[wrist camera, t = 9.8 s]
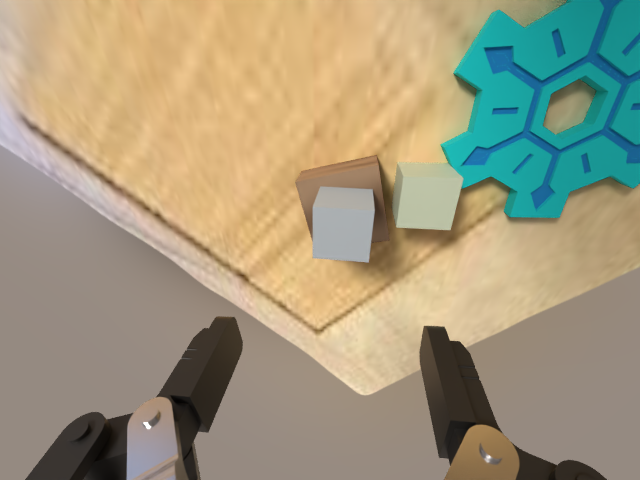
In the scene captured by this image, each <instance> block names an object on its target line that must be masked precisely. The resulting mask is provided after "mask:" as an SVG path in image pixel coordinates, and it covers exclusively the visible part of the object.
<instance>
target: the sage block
mask: <svg viewBox="0 0 640 480" xmlns="http://www.w3.org/2000/svg"><path fill="white" fill-rule="evenodd" d="M463 179H464V178H463V177H462V176H461V175H460V174H459V173H458V172H457V171H456V170H455V169H454V168H453V167H452V166H451V165H450V164H449V163H420V162H397V168H396V176H395V183H394V191H393V199H392V207H391V208H392V212H393V216H394V220H395V224H396V228H417V229H437V230H451V226H452V222H453V218H454V214H455V210H456V206H457V203H458V199H459V195H460V191H461V187H462V183H463Z"/></svg>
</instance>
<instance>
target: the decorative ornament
mask: <svg viewBox="0 0 640 480" xmlns="http://www.w3.org/2000/svg"><path fill="white" fill-rule="evenodd" d="M453 74H455V75H456V76H458V77H459V78H461V79H462V80H464V81H465V82H467V83H468V84H470V85H471V86H473V87H474V88H476V89H477V92H476V96H475V100H474V105H473V109H472V113H471V118H470V122H469V127H468V131H466V132H464V133H462V134H460V135H458V136H456V137H455V138H453V139H451V140H449V141H447V142H445V143H443V144H441V147H442V149H443V152H444V154H445V156H446V158H447V161H448V163H449V164H450V165H451V166H452V167H453V168H454V169H455V170H456V171H457V172H458V173H459V174H460V175H461V176H462V177H463V178H464V179H463V183H462V187H461V188H462V189H463V188H465V187H468V186H470V185H472V184H474V183H477V182H479V181H481V180H484V179H486V178H488V177H493V178H495V179H497V180H498V181H500V182H502V183H503V184H505V185H507V186H509V187H510V188H511V189H510V192H509V195H508V199H507V202H506V205H505V209H504V212H505V213H506V214H507V215H508V216H509V217H541V218H559V217H560V215H561V212H562V210H563V207H564V205H565V203H566V200H567V198H568V195H569V193H570V192H571V191H574V190H576V189H579V188H581V187H584V186H586V185H589V184H592V183H594V182H597V181H599V180H602V179H604V178H607V177H611V178H613V179H614V180H616V181H618V182H619V183H621V184H623V185H626V186H628V187H631V188H633V189H634V188H635V187H636V186H637V185H638V184H640V0H567V1H566V3H565V4H563V5H562V6H560V7H558V8H557V9H555V10H553V11H552V12H550V13H548V14H547V15H545V16H543V17H541V18H540V19H538V20H536V21H535V22H533V23H531V24H530V25H528V26H526V27H525V28H524V27H522V26H521V25H520V24H518V23H517V22H515V21H514V20H513V19H511V18H510V17H509V16H507V15H506V14H505V13H503V12H502V11H501V10H497V11H495V12H493V13H492V14H491V15H490V17H489V18H488V20H487V22H486V23H485V25H484V26H483V28H482V29H481V31H480V32H479V34H478V36H477V37H476V39H475V40H474V42H473V43H472V45H471V46H470V48H469V50H468V51H467V53H466V54H465V56H464V57H463V59H462V60H461V62H460V64H459V65H458V67H457V68H456V70H455V71H454V73H453ZM578 79H580V80H582V81H583V82H585V83H586V84H588V85H589V86H590V87H592V88H593V89H595V90H596V94H595V96H594V98H593V101H592V103H591V105H590V108H589V110H588V112H587V115H586V117H585V119H584V121H583V123H580V124H578V125H576V126H574V127H572V128H570V129H567V130H565V131H563V132H561V133H559V134H557V135H555V134H554V133H552V132H551V131H550V130H548V129H547V128H545V127H544V126H543V122H544V118H545V115H546V111H547V108H548V104H549V100H550V97H551V94H552V93H554V92H555V91H557V90H559V89H561V88H563V87H565V86H567V85H568V84H570V83H572V82H574V81H576V80H578Z"/></svg>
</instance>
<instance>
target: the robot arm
mask: <svg viewBox="0 0 640 480" xmlns="http://www.w3.org/2000/svg"><path fill="white" fill-rule="evenodd" d="M242 343H243V342H242V338H241V334H240V331H239V328H238V325H237V321H236V319H235V318H234V317H216V318H215V319H214V321H213V322H212V324H211V326H210V328H209V329H208V328H204V329H203V330H202V331H200V332H199V333H198V334H197V335H196V336H195V337H194V338H193V340H192V341H191V343H190V344H189V346H188V348H187V351H185V353H184V354H183V356H182V359H181V360H180V361H179V362H178V364H177V366H176V367H175V369H174V370H173V372H172V373H171V375H170V377H169V378H168V380H167V382H166V383H165V385H164V386H163V388H162V389H161V391H160V393H159V394H158V395H157V397H156V398H153V399H150V400H148V401H146V402H145V403H144V404H142V405H141V406H140V407H139V408H138V409H137V410H136V411H135V412H134V413H131V414H127V415H124V416H119V417H115V418H112V419H106V418H105V417H104V416H103V415H102V414H101V413H99V412H91V413H88V414H85V415H83V416H81V417H79V418H77V419H76V420H74V421H73V422H72V423H70V424H69V425H68V426H67V427H66V428H65V429H64V430H63V432H62V433H61V434H60V435H59V436H58V438H57V439H56V440H55V442H54V443H53V444H52V446H51V447H50V448H49V450H48V451H47V452H46V453H45V455H44V456H43V457H42V459H41V460H40V461H39V463H38V464H37V465H36V466H35V468H34V469H33V470H32V472H31V473H30V474H29V476H28V477H27V478H26V479H25V480H201V477H200V472H199V466H198V460H197V455H196V449H195V444H194V439H195V437H196V435H197V432H209V429H210V427H211V425H212V422H213V420H214V417H215V415H216V413H217V410H218V408H219V406H220V403H221V401H222V398H223V396H224V394H225V391H226V389H227V386H228V384H229V381H230V379H231V377H232V374H233V372H234V370H235V367H236V365H237V362H238V360H239V357H240V355H241V352H242V346H243V344H242ZM420 365H421V371H422V376H423V380H424V385H425V390H426V395H427V400H428V405H429V410H430V415H431V420H432V425H433V430H434V435H435V440H436V445H437V449H438V454H439V457H440V458H448V459H449V462H450V468H449V470H448V472H447V474H446V476H445V478H444V480H607V479H606V478H604V477H603V476H602V475H601V474H600V473H598V472H597V471H596V470H594V469H593V468H591V467H589V466H587V465H585V464H583V463H581V462H578V461H573V460H567V461H562V462H561V463H559V464H558V465H555V464H553V463H550V462H548V461H545V460H543V459H541V458H538V457H536V456H533V455H531V454H529V453H527V452H525V451H522V450H521V449H519V448H518V447H517V446H515V445H514V444H513V443H512V442H511V441H510V440H509V439H508V438H507V437H506V436H505V435H504V434H503V433H502V431H501V430H500V428H499V427H498V425H497V423H496V420H495V417H494V415H493V412H492V410H491V407H490V404H489V402H488V399H487V397H486V394H485V391H484V389H483V386H482V384H481V381H480V380H479V376H478V373H477V371H476V369H475V365H474V363H473V360H472V358H471V355H470V353H469V352H468V351H467V350H466V348H465V347H464V346H463V345H462V344H461V342H460V341H450V340H449V337H448V334H447V331H446V329H445V327H439V326H424V329H423V334H422V341H421V347H420Z"/></svg>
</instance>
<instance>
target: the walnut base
mask: <svg viewBox="0 0 640 480" xmlns="http://www.w3.org/2000/svg"><path fill="white" fill-rule="evenodd" d="M295 183H296V186H297V190H298V193H299V197H300V200H301V203H302V207H303V210H304V214H305V217H306V221H307V224H308V227H309V231H310V234H311V238H312V241H313V205H314V202H315V199H316V197H317V194H318V191H319V189H320V186H321V187H340V188H359V189H373V198H374V208H375V213H374V221H373V230H372V238H371V243H374V242H381V241H388V240H389V234H388V227H387V220H386V213H385V206H384V199H383V192H382V185H381V179H380V172H379V165H378V160H377V155H375V156H370V157H365V158H361V159H356V160H351V161H346V162H342V163H337V164H332V165H328V166H323V167H318V168H313V169H309V170H304V171H301V173H300V175H299V176H298V178H297V180H296V182H295Z"/></svg>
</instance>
